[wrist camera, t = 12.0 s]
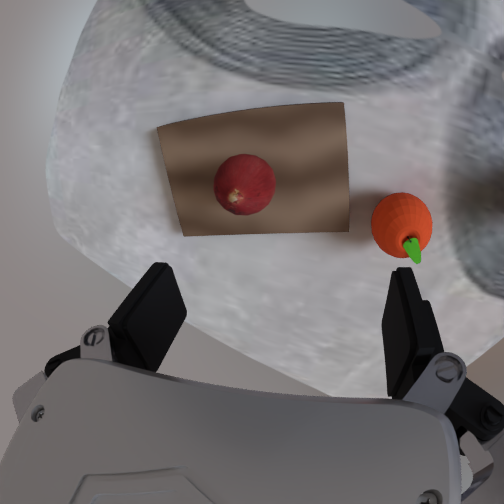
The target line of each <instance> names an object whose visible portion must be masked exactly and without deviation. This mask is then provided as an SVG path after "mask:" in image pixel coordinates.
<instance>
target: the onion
mask: <svg viewBox="0 0 504 504" xmlns="http://www.w3.org/2000/svg"><path fill="white" fill-rule="evenodd" d="M275 187H276V179H275V175H274V172H273V169H272V168H271V167H270V166H269V164H268V163H267V162H266V161H265V160H263V159H261V158H259V157H258V156H256V155H250V154H239V155H235V156H231V157H229V158H228V159H227V160H226V161H224V162H223V163H222V164H221V165H220V166H219V168H218V170H217V172H216V174H215V177H214V185H213V190H214V194H215V197H216V200H217V201H218V202H219V204H220V205H221V206H222V207H223V208H224V209H225V210H227V211H229V212H231V213H232V214H234V215H245V216H248V215H251V214H255V213H258V212H260V211H261V210H262V209H264V208H265V207H266V206H267V205H269V203H270V201H271V199H272V197H273V195H274V193H275Z"/></svg>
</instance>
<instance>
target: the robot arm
mask: <svg viewBox="0 0 504 504" xmlns="http://www.w3.org/2000/svg"><path fill="white" fill-rule="evenodd" d="M186 315H187V310H186V307H185V304H184V302H183V299H182V296H181V293H180V290H179V287H178V285H177V282H176V279H175V276H174V273H173V270H172V267H171V266H169V265H168V264H167V263H162V262H155V263H154V264H153V265H152V266H151V267H150V268H149V269H148V271H147V272H146V273H145V274H144V276H143V277H142V278H141V279H140V281H139V282H138V283H137V284H136V286H135V287H134V288H133V289H132V291H131V292H130V293H129V294H128V296H127V297H126V298H125V300H124V301H123V302H122V303H121V305H120V306H119V307H118V309H117V310H116V311H115V313H114V314H113V315H112V317H111V318H110V320H109V321H108V324H109V327H108V329H107V328H106V327H105V326H103V325H97V326H94V327H91V328H90V329H88V330H87V331H86V332H85V333H84V334H83V335H82V337H81V343H80V345H79V346H77V347H75V348H73V349H70V350H68V351H65V352H63V353H61V354H58V355H56V356H54V357H53V358H51V359H50V360H49V361H48V363H47V364H46V366H45V372H43V371H41V372H39V373H38V374H37V375H35V376H34V377H32V378H31V379H30V380H28V381H27V382H26V383H24V384H23V385H22V386H20V387H19V388H18V389H17V390H16V391H15V393H14V395H13V404H14V407H15V411H16V414H17V418H18V421H19V426H18V427H17V429H16V431H15V433H14V435H13V437H12V439H11V441H10V443H9V446H8V448H7V450H6V452H5V454H4V456H3V458H2V461H1V463H0V504H504V405H503V404H502V403H501V402H500V401H498V400H497V399H496V398H494V397H493V396H491V395H490V394H489V393H487V392H486V391H485V390H483V389H482V388H480V387H479V386H477V385H476V384H474V383H473V382H472V381H470V380H469V379H468V378H466V373H467V372H466V371H467V370H466V365H465V363H464V361H463V360H462V359H461V358H460V357H459V356H458V355H456V354H454V353H450V352H444V349H443V345H442V341H441V338H440V334H439V330H438V327H437V324H436V320H435V317H434V314H433V311H432V307H431V304H430V302H429V301H428V300H422V298H421V294H420V291H419V288H418V285H417V282H416V279H415V276H414V274H413V271H412V268H411V267H398V268H397V270H396V271H392V274H391V280H390V285H389V290H388V295H387V300H386V305H385V309H384V314H383V318H382V335H383V344H384V354H385V365H386V378H387V394H388V397H390V396H392V399H384V398H348V397H325V396H307V395H293V394H282V393H272V392H263V391H255V390H247V389H239V388H233V387H226V386H220V385H214V384H209V383H203V382H198V381H193V380H188V379H183V378H178V377H173V376H168V375H164V374H160V373H156V371H157V370H158V368H159V366H160V365H161V363H162V360H163V359H164V357H165V355H166V353H167V351H168V349H169V348H170V346H171V344H172V342H173V340H174V338H175V337H176V335H177V333H178V331H179V329H180V327H181V325H182V323H183V322H184V320H185V318H186ZM460 455H463V456H466V457H467V458H468V460H469V461H470V463H469V464H468V465H469V466H470V468H471V470H472V472H473V481H472V483H471V486H470V487H469V488H468V489H467V490H466V491H465V492H464V493H463V494H461V461H460ZM422 493H423V494H422ZM429 499H430V501H429Z"/></svg>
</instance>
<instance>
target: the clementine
mask: <svg viewBox="0 0 504 504" xmlns="http://www.w3.org/2000/svg"><path fill="white" fill-rule="evenodd" d="M371 226H372V234H373V237H374V240H375V241H376V243H377V244H378V246H379V247H380V248H381V249H382V250H383V251H384V252H386V253H387V254H389V255H391V256H394V257H397V258H408V257H410V258H411V259H412V260H413V261H414V262H415V263H416V264H418V263H420V262H421V251H422V250H423V249H424V248H425V247H426V245H427V244H428V242H429V240H430V237H431V234H432V219H431V215H430V212H429V210H428V209H427V207H426V205H425V204H424V203H423V202H422V201H421V200H420V199H419V198H417V197H416V196H413V195H411V194H408V193H394V194H391V195H389V196H387V197H385V198H384V199H383V200H381V202H380V203H379V204H378V205H377V206H376V208H375V210H374V212H373V215H372V220H371Z"/></svg>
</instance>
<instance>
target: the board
mask: <svg viewBox="0 0 504 504" xmlns="http://www.w3.org/2000/svg"><path fill="white" fill-rule="evenodd" d="M157 130H158V135H159V140H160V144H161V149H162V153H163V157H164V162H165V166H166V170H167V174H168V178H169V182H170V186H171V190H172V194H173V198H174V202H175V206H176V210H177V214H178V217H179V221H180V225H181V228H182V232H183V236H208V235H236V234H268V233H309V232H349V173H348V151H347V135H346V122H345V110H344V103H343V102H328V103H307V104H293V105H282V106H271V107H262V108H254V109H247V110H240V111H233V112H227V113H220V114H215V115H209V116H204V117H199V118H194V119H189V120H184V121H180V122H175V123H171V124H166V125H163V126H160V127H157ZM239 154H250V155H256V156H258V157H259V158H261V159H263V160H265V161H266V162H267V163H268V164H269V166H270V167H271V168H272V169H273V172H274V175H275V179H276V187H275V193H274V195H273V197H272V199H271V201H270V203H269V205H267V206H266V207H265V208H264V209H262V210H261V211H260V212H258V213H255V214H251V215H248V216H245V215H234V214H232V213H231V212H229V211H227V210H225V209H224V208H223V207H222V206H221V205H220V204H219V202H218V201H217V200H216V197H215V194H214V190H213V185H214V177H215V174H216V172H217V170H218V168H219V166H220V165H221V164H222V163H223V162H224V161H226V160H227V159H228V158H229V157H231V156H235V155H239Z"/></svg>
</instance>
